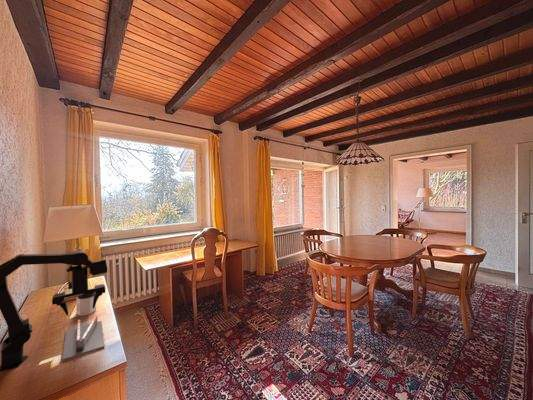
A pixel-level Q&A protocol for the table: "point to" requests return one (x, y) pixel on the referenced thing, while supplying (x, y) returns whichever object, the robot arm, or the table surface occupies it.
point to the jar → (85, 304)
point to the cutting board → (91, 345)
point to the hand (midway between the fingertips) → (80, 311)
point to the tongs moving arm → (90, 330)
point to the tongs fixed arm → (79, 340)
